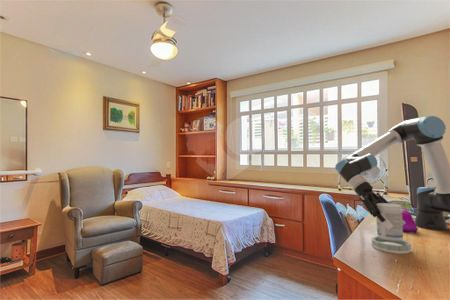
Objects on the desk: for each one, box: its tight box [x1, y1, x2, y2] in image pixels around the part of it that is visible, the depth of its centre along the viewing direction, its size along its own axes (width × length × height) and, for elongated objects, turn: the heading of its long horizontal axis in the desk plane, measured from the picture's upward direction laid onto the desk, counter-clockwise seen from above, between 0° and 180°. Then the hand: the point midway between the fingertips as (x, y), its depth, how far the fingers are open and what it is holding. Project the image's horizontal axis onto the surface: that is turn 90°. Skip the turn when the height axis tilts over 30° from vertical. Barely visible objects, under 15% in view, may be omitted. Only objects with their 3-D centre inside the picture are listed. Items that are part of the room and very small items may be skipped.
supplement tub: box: [375, 202, 404, 241], centre depth 109 cm, size 10×10×15 cm
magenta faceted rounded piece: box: [402, 202, 419, 233], centre depth 137 cm, size 11×11×15 cm
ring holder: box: [371, 235, 412, 255], centre depth 109 cm, size 14×14×3 cm
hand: (397, 226), depth 106 cm, fingers closed on supplement tub, 9 cm apart
